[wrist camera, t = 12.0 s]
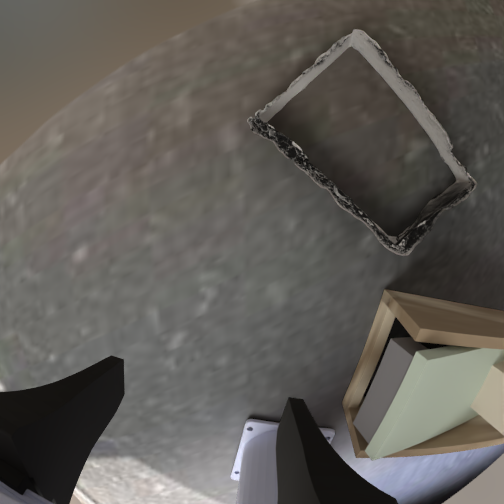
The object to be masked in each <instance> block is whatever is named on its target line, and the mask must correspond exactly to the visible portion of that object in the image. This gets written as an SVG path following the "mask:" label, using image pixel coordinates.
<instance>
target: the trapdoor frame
mask: <svg viewBox="0 0 504 504" xmlns="http://www.w3.org/2000/svg"><path fill="white" fill-rule="evenodd" d="M395 317H396V318H397V319H398V320H399V322H400V323H401V324H402V325H403V326H404V328H405V329H406V330H407V331H408V333H409V334H410V335H411V337H412V338H413V339H414V340H415V341H417V342H426V343H435V344H445V345H455V346H465V347H477V348H490V349H504V311H501V310H496V309H490V308H484V307H479V306H473V305H468V304H463V303H457V302H452V301H446V300H441V299H435V298H430V297H425V296H419V295H414V294H409V293H403V292H398V291H393V290H388V289H384V292H383V295H382V298H381V301H380V304H379V307H378V310H377V313H376V316H375V319H374V322H373V325H372V328H371V331H370V333H369V336H368V339H367V342H366V344H365V347H364V350H363V352H362V355H361V357H360V360H359V363H358V365H357V368H356V370H355V373H354V375H353V377H352V380H351V382H350V385H349V387H348V389H347V392H346V394H345V396H344V399H343V401H342V405H343V409H344V413H345V417H346V420H347V424H348V428H349V432H350V436H351V440H352V444H353V448H354V452H355V456H356V458H370V457H369V456H368V455H367V453H366V452H365V450H366V448H367V446H368V445H369V444H368V442H367V441H366V440H365V438H364V437H363V436H362V435H361V433H360V432H359V431H358V429H357V428H356V427H355V426H354V424H353V422H354V420H355V418H356V416H357V414H358V412H359V410H360V408H361V406H362V404H363V402H364V399H365V397H363V395H364V393H365V391H366V389H367V386H368V384H369V382H370V380H371V377H372V375H373V373H374V370H375V368H376V366H377V363H378V361H379V358H380V356H381V354H382V351H383V349H384V346H385V343H386V341H387V338H388V336H389V333H390V330H391V328H392V325H393V322H394V319H395ZM503 443H504V435H502V434H501V433H500V432H499V431H498V430H497V429H495V428H494V427H493V426H492V425H491V424H490V423H488V422H487V421H486V420H485V419H484V418H483V417H481V416H480V415H477V416H476V417H474V418H472V419H470V420H468V421H466V422H464V423H462V424H460V425H458V426H456V427H454V428H452V429H450V430H448V431H446V432H444V433H442V434H439V435H437V436H435V437H433V438H431V439H428V440H426V441H424V442H421V443H419V444H416V445H414V446H411V447H409V448H406V449H404V450H401V451H398V452H396V453H393V454H390V455H387V456H385V457H382V458H387V457H409V456H423V455H434V454H443V453H451V452H458V451H465V450H472V449H477V448H483V447H488V446H493V445H498V444H503Z"/></svg>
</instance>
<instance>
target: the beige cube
mask: <svg viewBox="0 0 504 504" xmlns="http://www.w3.org/2000/svg"><path fill="white" fill-rule="evenodd" d="M470 407H471V408H472V409H473V410H474V411H476V412H477V413H478V414H479V415H480V416H481V417H483V418H484V419H485V420H486V421H487V422H488V423H490V424H491V425H492V426H493V427H494V428H495V429H497V430H498V431H499V432H500V433H501V434H502V435H504V361H502V362H500V363H497V364H495V365H492V367H491V369H490V371H489V373H488V375H487V377H486V379H485V381H484V383H483V385H482V387H481V388H480V390H479V392H478V394H477V396H476V397H475V399H474V401H473V403H472V404H471V406H470Z"/></svg>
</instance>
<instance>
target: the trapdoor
mask: <svg viewBox="0 0 504 504" xmlns="http://www.w3.org/2000/svg"><path fill="white" fill-rule="evenodd" d="M502 361H504V349H490V348H477V347H465V346H455V345H451V346H446V347H440V348H434V349H428V348H426V347H425V346H424V345H422V344H421V343H420V342H417V341H415V340H414V339H413V338H412V337H403V338H391V339H390V341H389V344H388V346H387V349H386V351H385V354H384V356H383V359H382V361H381V364H380V366H379V368H378V371H377V373H376V375H375V378H374V380H373V382H372V384H371V386H370V389H369V391H368V393H367V395H366V397H365V399H364V402H363V404H362V406H361V408H360V410H359V412H358V414H357V416H356V418H355V420H354V422H353V424H354V426H355V427H356V428H357V429H358V431H359V432H360V433H361V435H362V436H363V437H364V438H365V440H366V441H367V442H368V444H369V445H368V446H367V448H366V450H365V452H366V453H367V455H368V456H369V457H370V459H371V460H372V461H373V460H376V459H379V458H382V457H385V456H387V455H390V454H393V453H396V452H398V451H401V450H404V449H406V448H409V447H411V446H414V445H416V444H419V443H421V442H424V441H426V440H428V439H431V438H433V437H435V436H437V435H439V434H442V433H444V432H446V431H448V430H450V429H452V428H454V427H456V426H458V425H460V424H462V423H464V422H466V421H468V420H470V419H472V418H474V417H476V416H477V415H479V414H478V413H477V412H476V411H474V410H473V409H472V408H471V407H470V406H471V404H472V403H473V401H474V399H475V397H476V396H477V394H478V392H479V390H480V388H481V387H482V385H483V383H484V381H485V379H486V377H487V375H488V373H489V371H490V369H491V367H492V365H495V364H497V363H500V362H502Z"/></svg>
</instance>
